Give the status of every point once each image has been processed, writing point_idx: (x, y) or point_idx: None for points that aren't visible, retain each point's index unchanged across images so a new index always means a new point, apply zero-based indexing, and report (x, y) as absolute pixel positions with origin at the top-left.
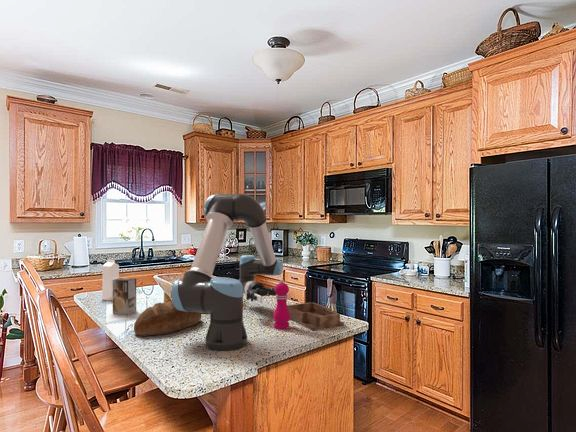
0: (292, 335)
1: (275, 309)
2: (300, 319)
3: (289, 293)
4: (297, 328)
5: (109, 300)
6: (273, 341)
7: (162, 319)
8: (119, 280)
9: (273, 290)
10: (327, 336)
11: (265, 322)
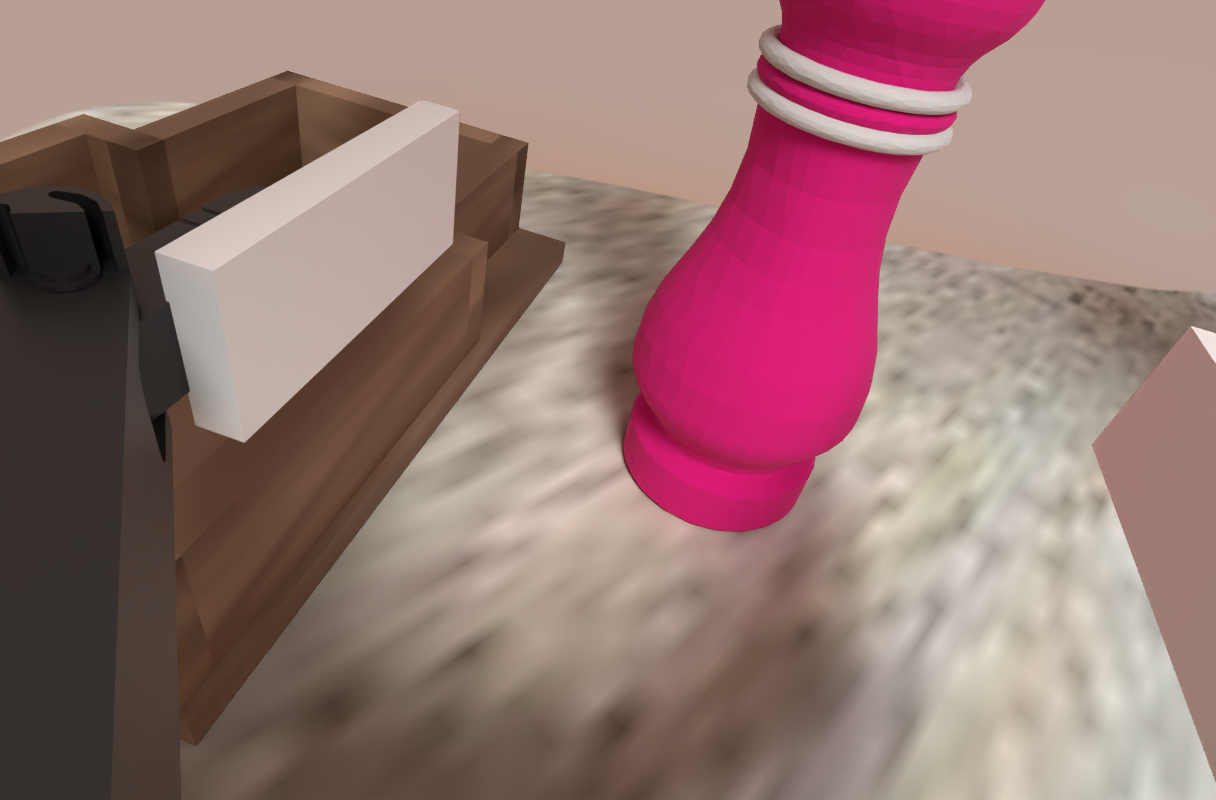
0: None
1: (871, 315)
2: (464, 337)
3: (420, 107)
4: (609, 351)
5: None
6: (980, 349)
7: None
8: None
9: (129, 601)
10: (597, 188)
11: (752, 757)
